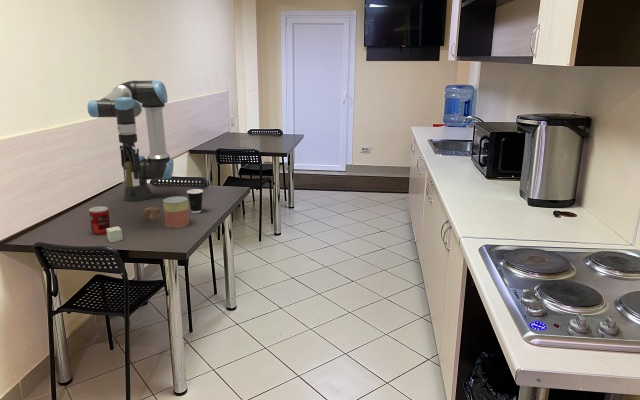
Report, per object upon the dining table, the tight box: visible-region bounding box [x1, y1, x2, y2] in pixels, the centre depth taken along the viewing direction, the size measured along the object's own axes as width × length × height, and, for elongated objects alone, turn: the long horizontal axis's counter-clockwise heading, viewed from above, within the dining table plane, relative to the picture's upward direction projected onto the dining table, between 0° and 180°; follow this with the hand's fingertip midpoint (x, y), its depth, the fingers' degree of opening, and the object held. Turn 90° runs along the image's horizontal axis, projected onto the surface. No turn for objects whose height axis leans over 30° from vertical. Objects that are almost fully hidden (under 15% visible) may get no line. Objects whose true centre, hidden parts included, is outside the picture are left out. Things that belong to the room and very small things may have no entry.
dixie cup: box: [186, 188, 204, 214], centre depth 244 cm, size 8×8×11 cm
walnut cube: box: [143, 206, 161, 221], centre depth 235 cm, size 5×5×5 cm
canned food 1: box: [88, 205, 111, 236], centre depth 214 cm, size 8×8×11 cm
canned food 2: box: [162, 195, 190, 228], centre depth 226 cm, size 11×11×12 cm
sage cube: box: [106, 225, 124, 243], centre depth 206 cm, size 5×5×5 cm
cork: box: [125, 161, 140, 187], centre depth 214 cm, size 6×6×11 cm
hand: (132, 184), depth 216 cm, fingers closed on cork, 6 cm apart
